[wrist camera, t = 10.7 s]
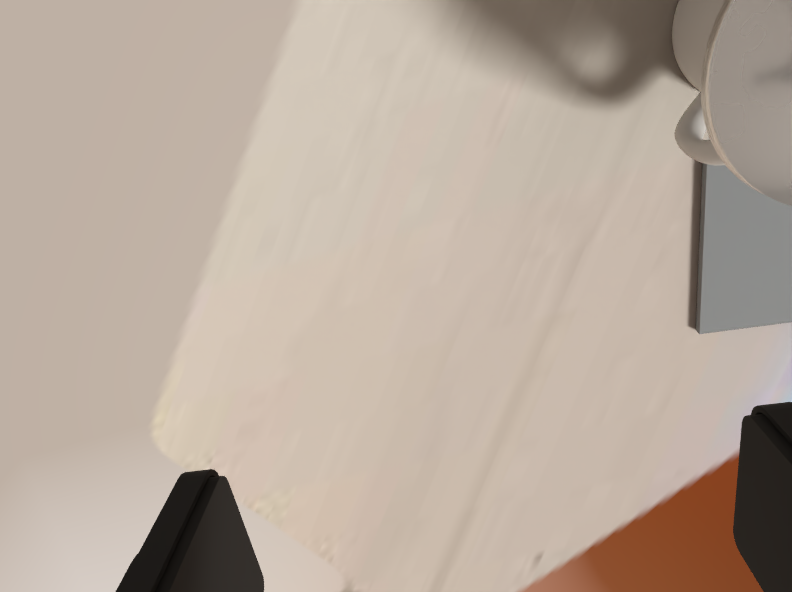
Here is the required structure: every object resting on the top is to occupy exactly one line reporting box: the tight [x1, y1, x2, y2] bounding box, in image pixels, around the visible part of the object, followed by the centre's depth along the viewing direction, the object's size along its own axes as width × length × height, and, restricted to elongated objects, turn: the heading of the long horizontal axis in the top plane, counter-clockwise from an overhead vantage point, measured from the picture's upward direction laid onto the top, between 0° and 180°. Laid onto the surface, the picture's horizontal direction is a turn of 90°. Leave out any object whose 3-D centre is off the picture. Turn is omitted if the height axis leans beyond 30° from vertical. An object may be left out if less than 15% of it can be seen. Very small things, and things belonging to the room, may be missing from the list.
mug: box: [672, 0, 725, 165], centre depth 28 cm, size 12×8×11 cm
